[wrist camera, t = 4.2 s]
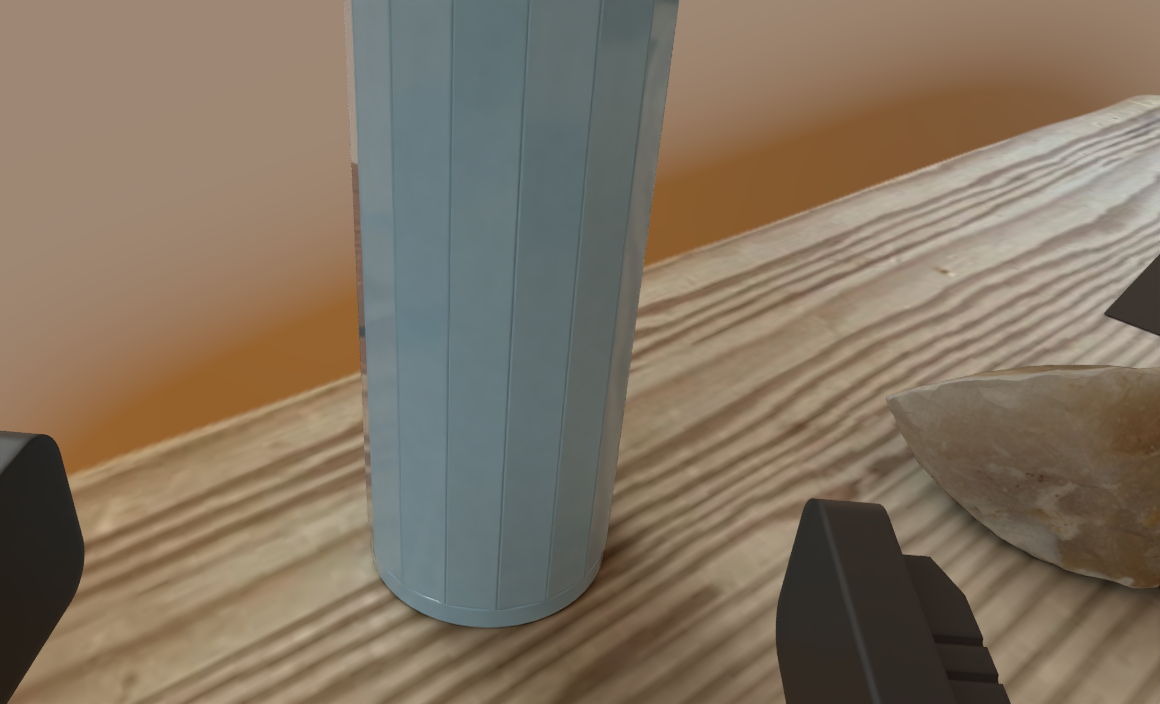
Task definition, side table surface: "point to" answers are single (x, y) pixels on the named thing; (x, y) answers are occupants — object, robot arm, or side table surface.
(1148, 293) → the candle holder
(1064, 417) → the stone
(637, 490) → the side table surface
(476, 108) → the cup
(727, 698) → the side table surface
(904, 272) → the side table surface
